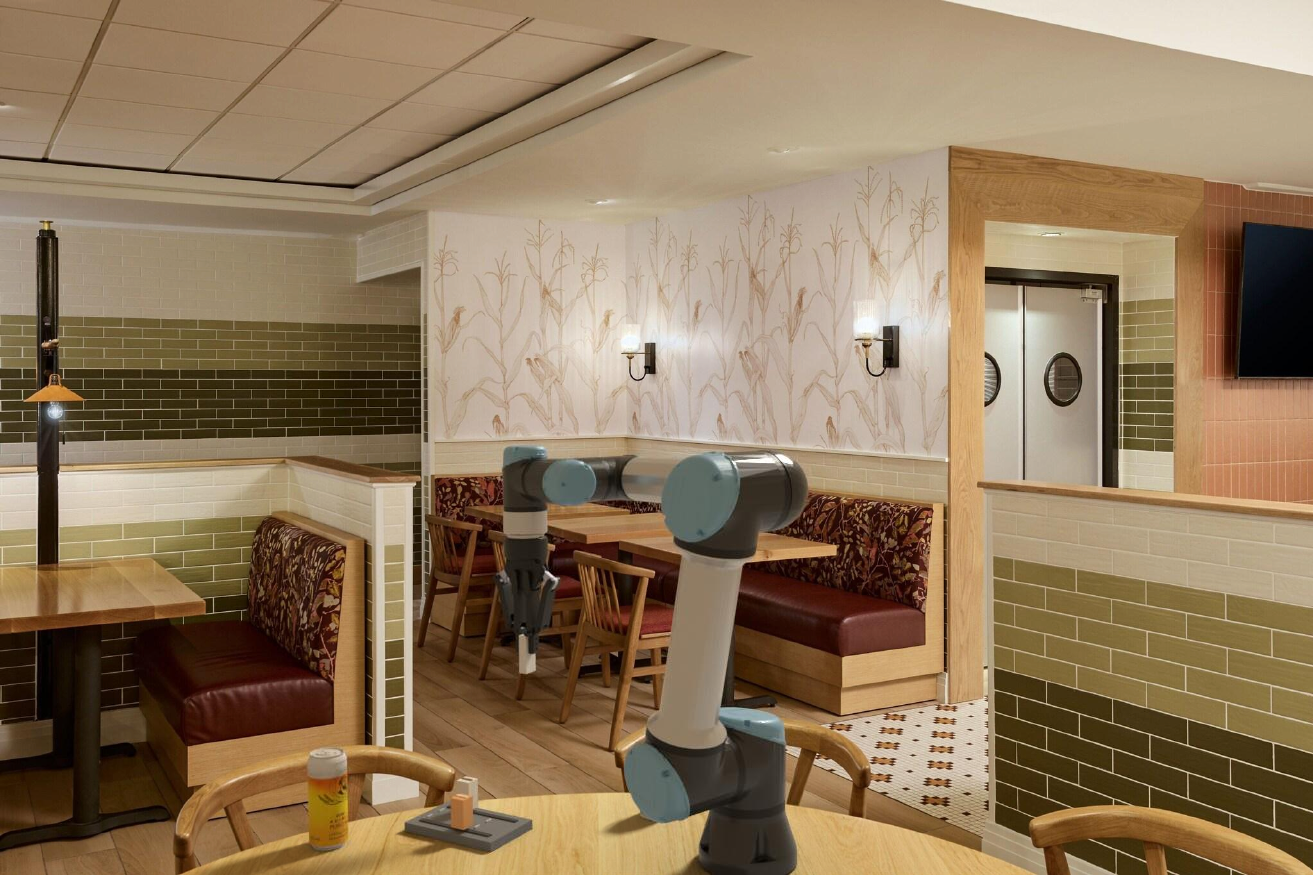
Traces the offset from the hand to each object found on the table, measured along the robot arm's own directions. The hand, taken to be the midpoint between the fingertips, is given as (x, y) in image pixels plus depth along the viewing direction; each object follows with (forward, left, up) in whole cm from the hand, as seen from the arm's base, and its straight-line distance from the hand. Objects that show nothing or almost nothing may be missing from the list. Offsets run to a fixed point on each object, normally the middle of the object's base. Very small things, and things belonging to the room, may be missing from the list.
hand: (527, 671), depth 194 cm
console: (+4, +12, -24) cm, 27 cm away
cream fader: (+7, +8, -22) cm, 25 cm away
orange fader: (+2, +15, -22) cm, 27 cm away
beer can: (+20, +27, -25) cm, 42 cm away
